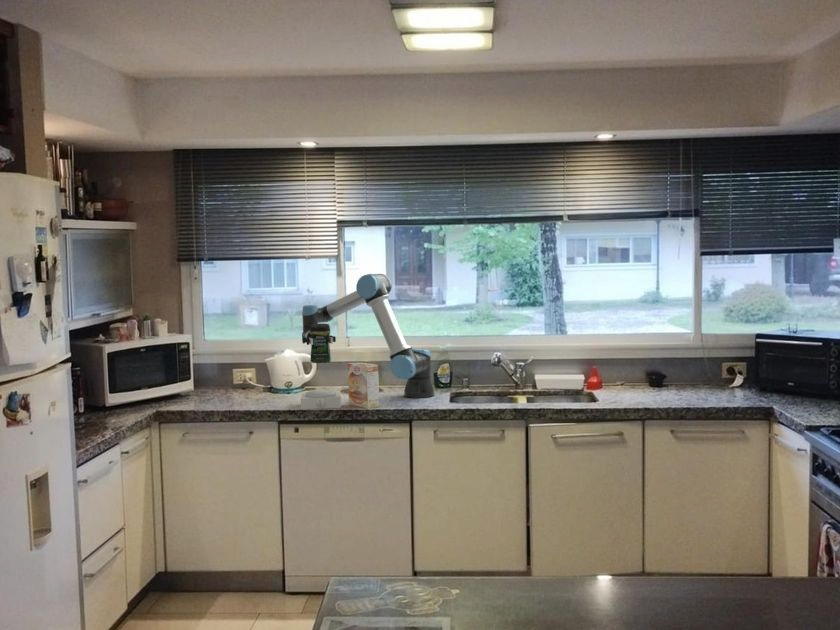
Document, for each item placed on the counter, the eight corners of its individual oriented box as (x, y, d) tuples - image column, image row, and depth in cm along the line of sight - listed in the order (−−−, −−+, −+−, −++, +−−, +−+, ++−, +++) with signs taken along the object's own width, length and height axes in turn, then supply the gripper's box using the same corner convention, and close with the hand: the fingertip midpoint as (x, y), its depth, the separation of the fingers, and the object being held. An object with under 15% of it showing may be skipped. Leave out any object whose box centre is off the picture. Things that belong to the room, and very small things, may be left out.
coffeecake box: (348, 404, 358) (347, 363, 356) (360, 402, 362) (359, 361, 361) (367, 408, 346) (366, 366, 345) (379, 406, 351) (378, 364, 350)
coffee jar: (309, 363, 359) (308, 324, 358) (312, 361, 367) (311, 323, 366) (329, 363, 358) (328, 324, 357) (332, 361, 366) (331, 322, 365)
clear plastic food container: (340, 402, 364) (339, 389, 364) (340, 408, 349) (340, 394, 348) (302, 403, 362) (301, 390, 362) (301, 409, 347) (300, 396, 346)
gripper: (335, 344, 383) (344, 348, 361) (292, 346, 376) (299, 350, 355) (334, 329, 382) (344, 332, 361) (292, 330, 376) (299, 334, 354)
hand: (322, 341), depth 358 cm, fingers closed on coffee jar, 9 cm apart
